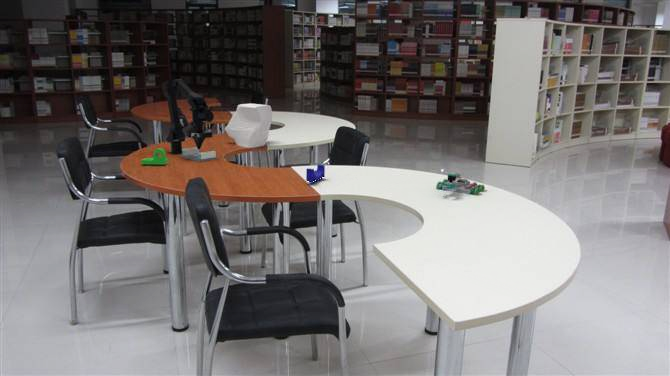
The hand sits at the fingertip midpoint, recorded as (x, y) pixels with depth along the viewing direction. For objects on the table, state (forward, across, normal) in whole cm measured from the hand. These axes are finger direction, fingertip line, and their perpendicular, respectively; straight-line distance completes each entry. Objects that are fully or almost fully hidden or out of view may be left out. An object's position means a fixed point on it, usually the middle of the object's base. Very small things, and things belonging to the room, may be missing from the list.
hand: (198, 149), depth 294 cm
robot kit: (+5, +137, +35) cm, 142 cm away
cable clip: (+5, +78, +10) cm, 78 cm away
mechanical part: (+5, -3, -24) cm, 25 cm away
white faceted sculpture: (+5, -10, +44) cm, 45 cm away
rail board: (+5, 0, 0) cm, 5 cm away
